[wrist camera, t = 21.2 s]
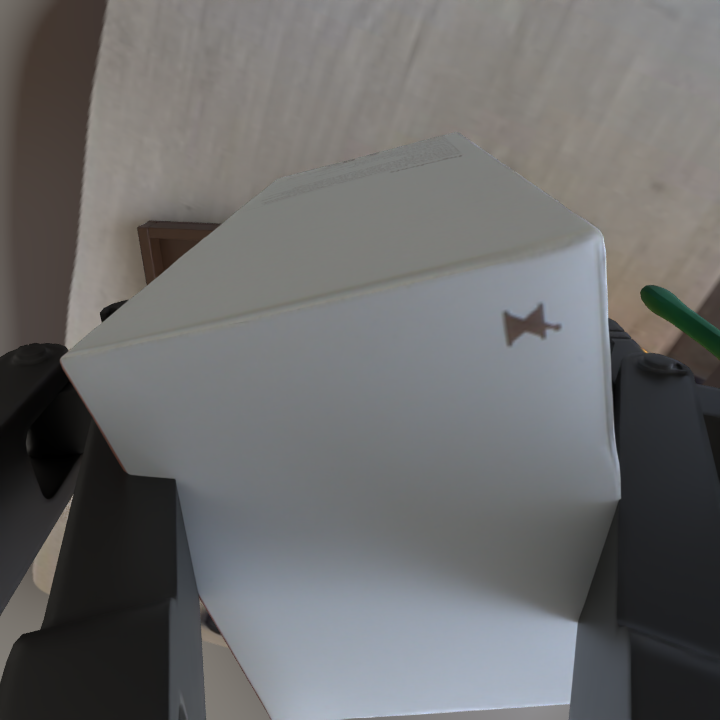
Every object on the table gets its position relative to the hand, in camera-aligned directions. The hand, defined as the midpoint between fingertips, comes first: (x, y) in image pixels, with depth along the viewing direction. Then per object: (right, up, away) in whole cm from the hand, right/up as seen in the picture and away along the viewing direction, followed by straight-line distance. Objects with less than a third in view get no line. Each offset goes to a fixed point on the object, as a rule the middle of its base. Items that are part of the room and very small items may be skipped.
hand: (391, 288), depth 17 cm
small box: (0, +1, +2) cm, 2 cm away
